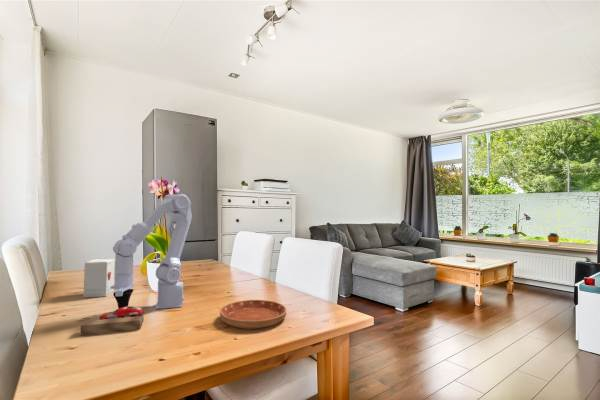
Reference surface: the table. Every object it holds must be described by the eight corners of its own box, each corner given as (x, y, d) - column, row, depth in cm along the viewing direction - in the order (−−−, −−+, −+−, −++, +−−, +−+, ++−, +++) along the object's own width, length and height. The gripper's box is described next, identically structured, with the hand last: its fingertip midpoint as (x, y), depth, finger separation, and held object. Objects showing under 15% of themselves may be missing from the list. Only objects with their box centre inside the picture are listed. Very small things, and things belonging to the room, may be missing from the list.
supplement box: (106, 296, 132) (107, 261, 133) (82, 297, 130) (83, 262, 131) (114, 291, 141) (115, 258, 141) (92, 292, 139) (93, 258, 140)
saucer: (260, 304, 124) (260, 295, 124) (299, 320, 108) (299, 309, 108) (207, 318, 108) (207, 308, 108) (244, 339, 92) (245, 326, 92)
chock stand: (144, 320, 105) (144, 311, 105) (139, 329, 97) (140, 320, 97) (89, 325, 100) (90, 316, 100) (80, 335, 92) (80, 325, 92)
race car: (97, 325, 101) (97, 313, 101) (100, 320, 106) (100, 308, 106) (142, 319, 107) (142, 307, 107) (143, 314, 112) (143, 303, 112)
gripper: (116, 269, 116) (115, 306, 116) (105, 278, 102) (104, 319, 102) (137, 268, 118) (136, 304, 118) (129, 276, 104) (128, 317, 104)
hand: (123, 311), depth 110 cm, fingers closed
